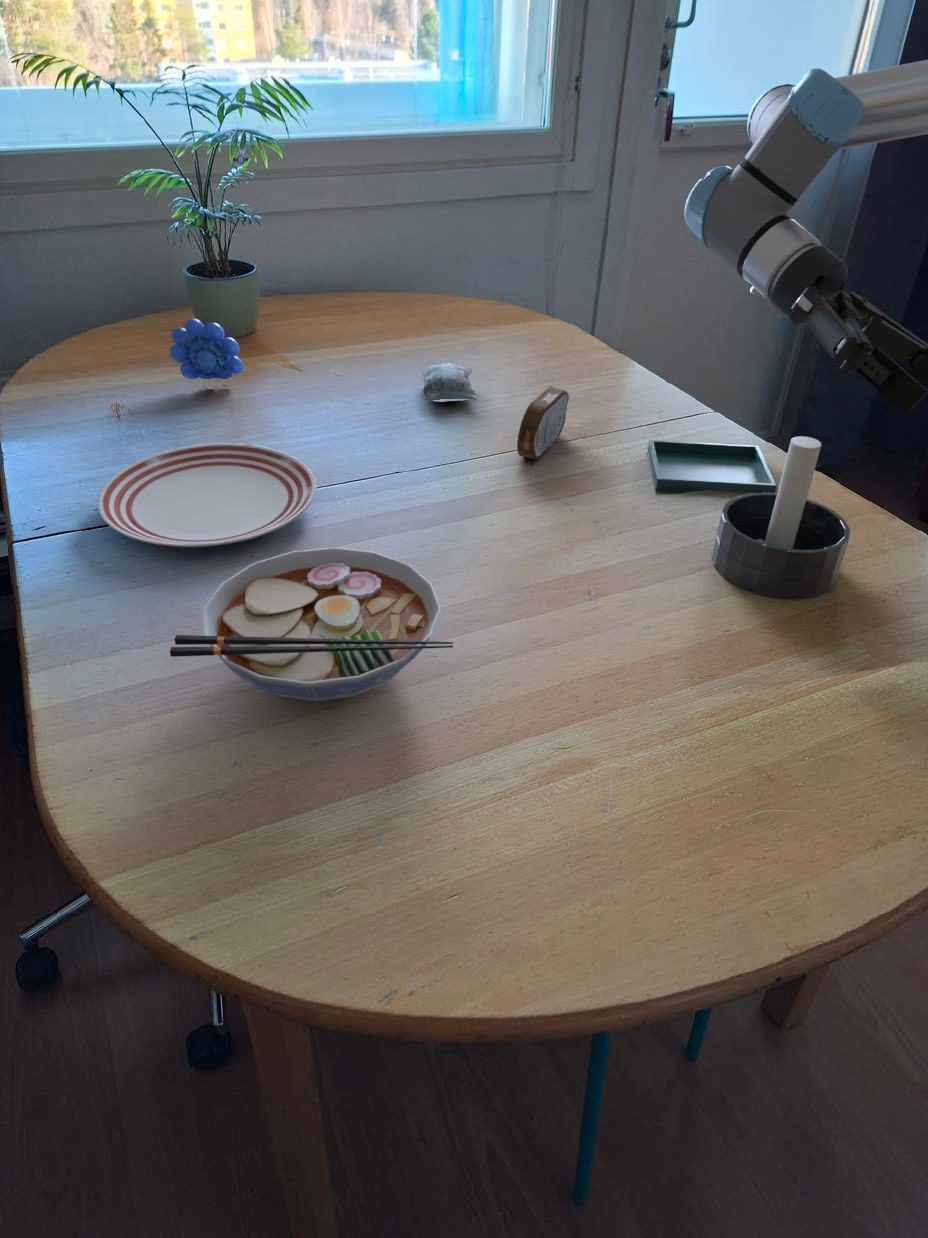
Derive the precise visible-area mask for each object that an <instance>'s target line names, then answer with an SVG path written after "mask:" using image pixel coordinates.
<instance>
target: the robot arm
mask: <svg viewBox="0 0 928 1238" xmlns="http://www.w3.org/2000/svg"><path fill="white" fill-rule="evenodd" d="M746 123H747V124H746V130H747V137H748V139H749V144H750V146H751V147H750V149H749V150H748V152H747V153H746V155H744V158H742V160H741V161H740V162H739V163H738V164H736V165H737V166H735V168H732V167H730V166H727V165H720V166H716V167H714V168H712V169H710V170H709V171H707V173H706V175H705V177H704V178H700V179H699V180H698V181H697V182H696V183H695V185H694V186H693V188H692V189H691V190H690V192H689V195H688V197H687V199H686V202H685V204H684V211H683V216H684V221H685V224H686V225H687V227H688V228H689V229H690V230H691V231H692V233H694V235H696V236H697V238H698V239H700V241H701V242H702V244H703V246H705V247H706V248H707V249H709V251H711V252H712V253H713V254H714V255H715V256H717V257H718V259H720V260H721V261H722V262H723V263H725V264H726V265H727V266H728V267H729V268H731V269H732V270H733V272H735V273H736V274H737V275H738V276H740V278H742V279H743V280H744V281H746V282H747V283H748V284H750V285H751V288H750V290H749V291H750V293H751V294H752V295H753V296H756V295H758V294H760V295H761V296H762V297H763V298H764V299H765V300H767V301H769V302H771V305H772V306H773V307H774V309H776V310H777V311H778V313H780V314H781V315H782V316H783V317H784V318H786V319H787V320H788V321H789V322H790V323H792V324H794V325H803V324H805V325H806V326H807V327H808V329H809V330H810V331H811V332H812V334H813V335H814V336H815V338H816V339H817V340H818V341H819V343H820V344H821V345H822V347H823V348H824V349H825V351H826V352H827V353H828V354H829V356H830V357H831V358H832V359H833V361H834V362H835V363H837V364H839V365H841V366H840V367H839V368H838V370H840V371H841V373H843V374H845V375H847V376H849V375H850V374H851V373H852V372H853V371H854V370H855V368H856V370H855V372H857V373H858V374H859V375H860V376H861V377H862V378H863V379H864V380H865V381H866V382H867V383H869V384H870V385H871V386H872V387H873V388H874V389H876V391H877V392H878V393H880V395H882V396H883V397H884V398H886V400H888V401H889V402H890V403H891V404H892V405H893V406H894V407H896V408H897V410H899V411H900V412H901V413H902V414H903V415H906V416H908V415H909V414H910V413H911V412H912V411H913V410H914V409H915V408H916V407H917V406H918V404H920V403H921V401H922V400H924V398H925V397H927V395H928V343H927V342H925V341H924V340H922V339H921V338H920V337H918V336H917V335H916V334H914V333H913V332H911V331H910V330H908V329H907V328H906V327H904V326H903V325H902V324H900V323H898V321H895V320H894V319H892V318H891V317H890V316H888V315H887V314H885V313H884V312H883V311H881V310H879V309H878V308H877V307H875V306H874V305H873V304H872V303H870V302H869V301H868V300H867V298H866V297H864V296H861V295H859V294H857V293H855V292H853V291H852V292H850V293H848V292H846V291H844V285H845V282H846V281H847V278H848V274H849V269H848V265H847V264H846V263H845V261H843V260H842V259H841V258H840V257H839V256H837V254H835V253H834V252H833V251H832V250H830V249H829V248H827V246H825V245H822V243H821V241H820V240H819V239H818V238H817V237H816V236H814V234H813V233H811V232H810V231H808V229H806V228H805V227H803V226H802V225H801V224H800V223H799V222H798V221H796V220H795V219H793V218H792V217H791V216H789V215H788V212H790V210H791V209H792V208H793V207H794V205H795V204H796V203H797V202H798V200H799V199H800V198H801V197H802V195H803V194H804V193H805V191H806V190H808V187H810V185H812V183H813V182H814V180H815V179H816V178H817V176H819V174H820V173H821V171H822V170H823V169H824V168H825V166H827V164H828V163H829V161H831V159H832V158H833V157H834V156H835V154H836V153H837V152H838V150H843V149H849V148H850V149H851V148H856V147H861V146H867V145H872V144H873V145H874V144H878V143H885V142H890V141H895V140H896V141H897V140H902V139H906V138H907V139H908V138H913V137H918V136H919V137H920V136H925V135H928V59H924V60H920V61H914V62H908V63H904V64H898V65H894V66H889V67H884V68H879V69H874V70H868V71H864V72H859V73H857V72H856V73H853V74H847V75H842V76H838V77H834V76H833V75H831V74H830V73H829V72H827V71H825V70H824V69H822V68H819V67H813V68H811V69H809V70H808V71H807V72H806V73H805V74H804V76H803V77H802V78H801V79H800V81H798V83H797V84H790V83H786V84H781V85H777V86H774V87H771V88H769V89H767V90H765V91H764V92H763V93H762V94H761V95H760V96H758V98H757V99H756V100H755V101H754V103H753V105H752V106H751V108H750V110H749V114H748V117H747V122H746ZM873 348H874V349H873ZM872 349H873V350H872ZM871 350H872V351H871ZM915 351H916V352H915ZM900 364H901V365H903V366H904V367H905V368H907V369H908V370H909V372H908V371H907V370H906V369H904V368H903V367H902V366H901V365H900Z"/></svg>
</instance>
